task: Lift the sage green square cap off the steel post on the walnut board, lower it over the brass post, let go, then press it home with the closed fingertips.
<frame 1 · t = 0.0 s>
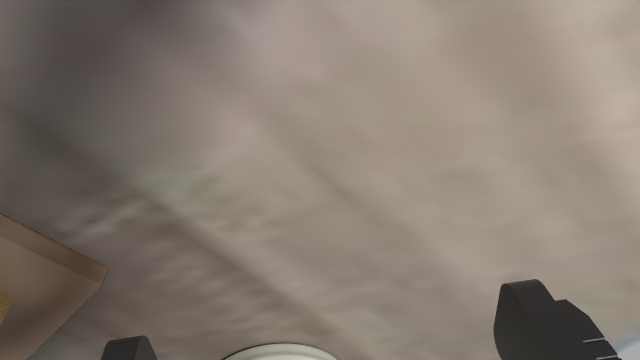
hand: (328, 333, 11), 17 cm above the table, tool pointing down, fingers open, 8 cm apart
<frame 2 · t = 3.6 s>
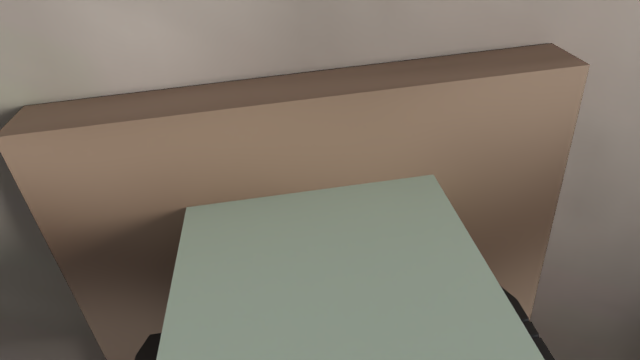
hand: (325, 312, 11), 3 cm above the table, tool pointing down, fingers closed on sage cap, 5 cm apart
walnut board: (327, 355, 16), on the table
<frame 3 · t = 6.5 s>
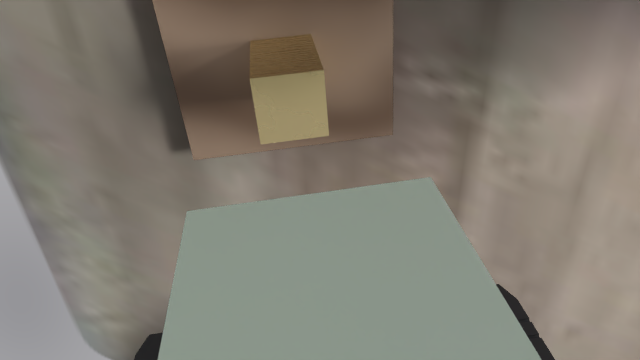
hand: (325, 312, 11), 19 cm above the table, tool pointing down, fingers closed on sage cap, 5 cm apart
brass post: (284, 66, 26), resting on walnut board
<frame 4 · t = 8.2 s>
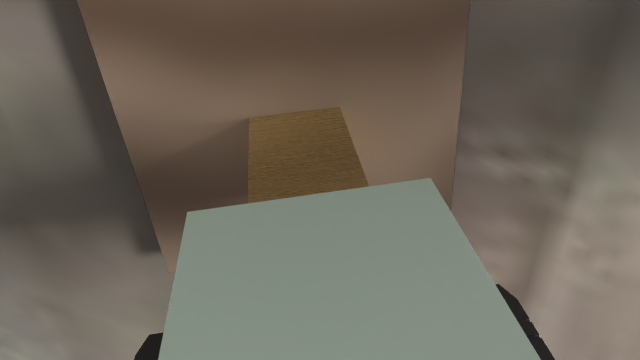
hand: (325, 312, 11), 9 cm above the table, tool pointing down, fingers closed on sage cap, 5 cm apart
walnut board: (281, 2, 16), on the table
brass post: (299, 151, 18), resting on walnut board
when the fingers open (3 cm above the table, at t = 9.8 s): sage cap stays where it is, resting on walnut board.
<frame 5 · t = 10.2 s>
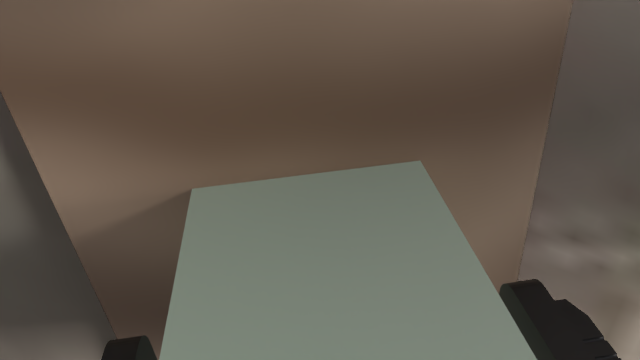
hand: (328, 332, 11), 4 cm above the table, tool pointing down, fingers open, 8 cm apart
walnut board: (292, 61, 12), on the table
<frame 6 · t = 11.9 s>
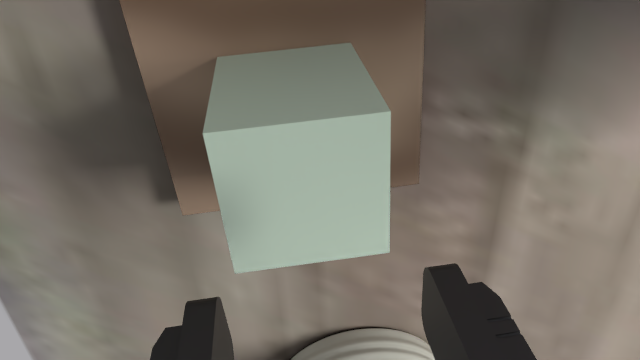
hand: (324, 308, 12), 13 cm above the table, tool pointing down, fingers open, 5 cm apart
sage cap: (297, 148, 19), on the walnut board, point 5 cm above the table
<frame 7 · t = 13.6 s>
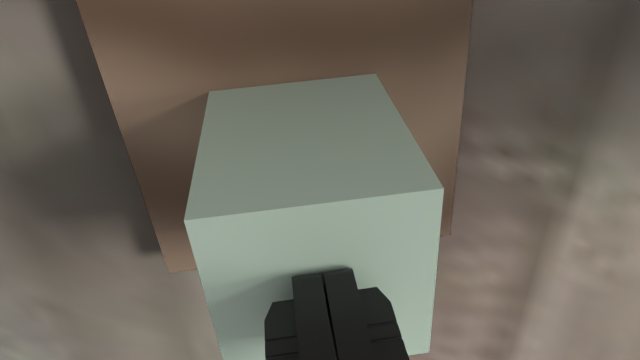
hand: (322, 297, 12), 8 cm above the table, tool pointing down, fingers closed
walnut board: (282, 0, 16), on the table
sage cap: (310, 211, 15), on the walnut board, point 5 cm above the table, touching gripper
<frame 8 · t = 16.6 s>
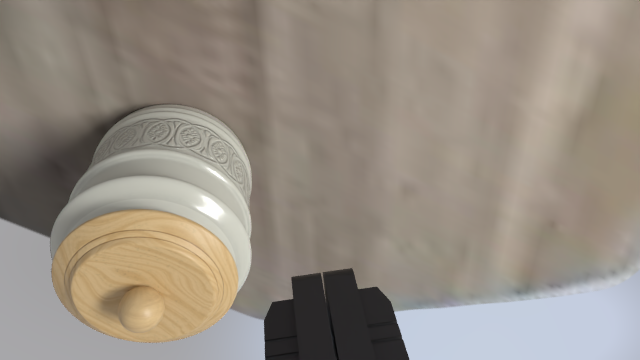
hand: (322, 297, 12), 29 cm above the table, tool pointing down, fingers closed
jar: (177, 167, 42), on the table
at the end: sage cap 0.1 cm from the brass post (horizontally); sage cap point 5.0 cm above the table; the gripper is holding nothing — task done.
